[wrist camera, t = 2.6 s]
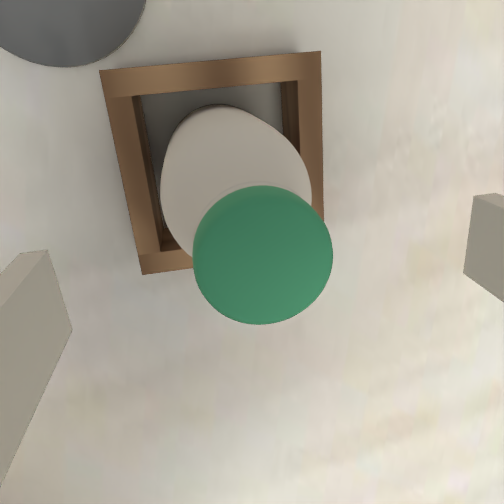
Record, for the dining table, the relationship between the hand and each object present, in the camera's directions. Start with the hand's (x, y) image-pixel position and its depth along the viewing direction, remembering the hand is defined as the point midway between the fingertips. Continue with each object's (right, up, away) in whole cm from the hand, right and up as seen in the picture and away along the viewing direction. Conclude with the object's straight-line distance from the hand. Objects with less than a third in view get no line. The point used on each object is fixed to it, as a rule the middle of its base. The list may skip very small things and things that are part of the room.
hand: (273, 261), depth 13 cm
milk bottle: (-3, +8, +19) cm, 20 cm away
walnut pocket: (-3, +7, +18) cm, 20 cm away
